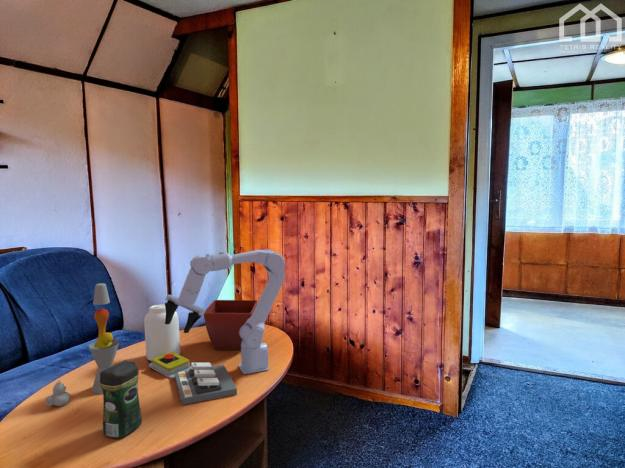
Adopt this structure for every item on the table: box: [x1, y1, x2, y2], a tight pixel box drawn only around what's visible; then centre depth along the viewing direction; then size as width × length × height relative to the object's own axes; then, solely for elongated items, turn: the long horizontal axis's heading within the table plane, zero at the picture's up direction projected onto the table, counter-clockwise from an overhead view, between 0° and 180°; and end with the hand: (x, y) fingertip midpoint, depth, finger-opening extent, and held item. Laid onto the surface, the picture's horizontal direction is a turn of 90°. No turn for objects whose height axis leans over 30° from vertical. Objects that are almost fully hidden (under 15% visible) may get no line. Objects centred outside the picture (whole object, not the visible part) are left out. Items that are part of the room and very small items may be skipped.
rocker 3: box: [197, 378, 219, 386], centre depth 136 cm, size 6×4×1 cm, turn 114°
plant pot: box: [203, 299, 258, 351], centre depth 178 cm, size 19×19×17 cm
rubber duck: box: [45, 379, 71, 407], centre depth 129 cm, size 5×7×8 cm
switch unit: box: [174, 364, 238, 406], centre depth 142 cm, size 17×20×4 cm
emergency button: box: [148, 352, 192, 380], centre depth 155 cm, size 9×4×15 cm
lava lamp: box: [88, 283, 120, 395], centre depth 140 cm, size 9×9×35 cm
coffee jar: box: [100, 359, 143, 439], centre depth 116 cm, size 10×8×19 cm
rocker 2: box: [194, 370, 215, 377], centre depth 142 cm, size 6×4×1 cm, turn 114°
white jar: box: [143, 303, 181, 362], centre depth 165 cm, size 12×12×20 cm
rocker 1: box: [190, 362, 213, 369], centre depth 148 cm, size 6×4×1 cm, turn 114°
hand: (176, 328), depth 143 cm, fingers open, 7 cm apart
